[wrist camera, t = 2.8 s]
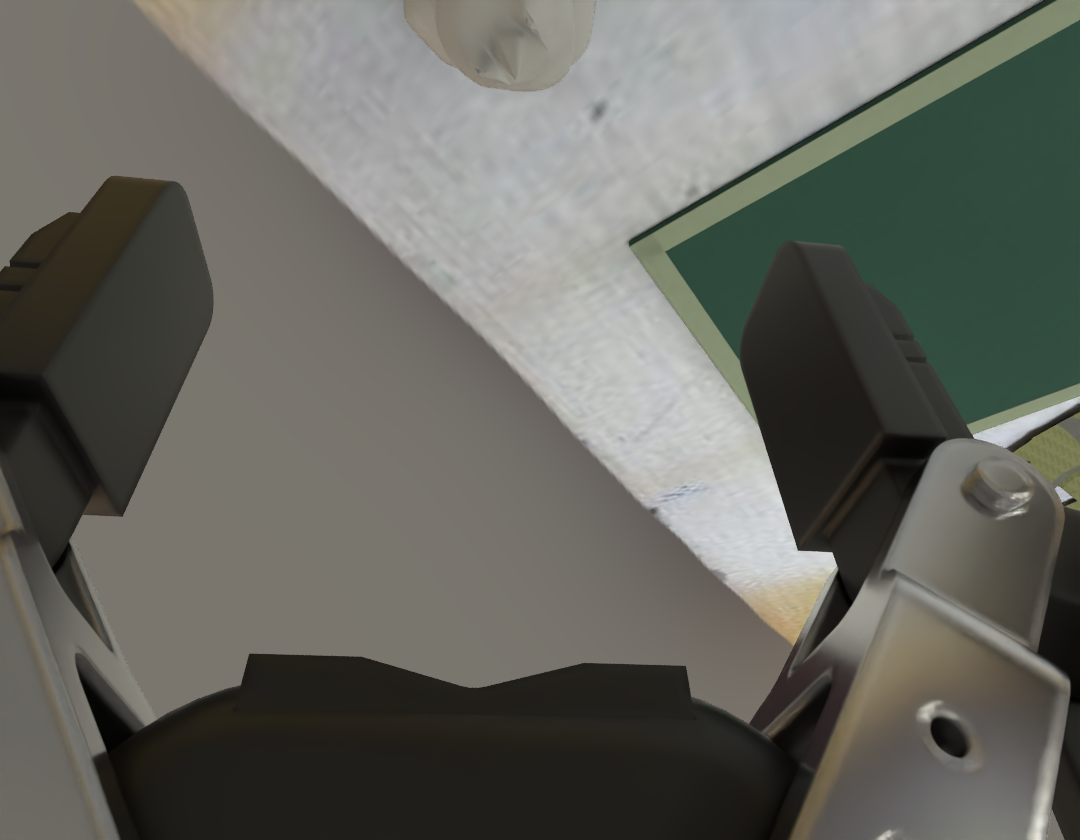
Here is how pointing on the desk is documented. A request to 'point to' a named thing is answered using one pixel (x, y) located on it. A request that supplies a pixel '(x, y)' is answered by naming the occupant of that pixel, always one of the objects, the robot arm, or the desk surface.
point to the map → (1057, 456)
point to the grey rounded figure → (505, 38)
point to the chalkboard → (922, 220)
